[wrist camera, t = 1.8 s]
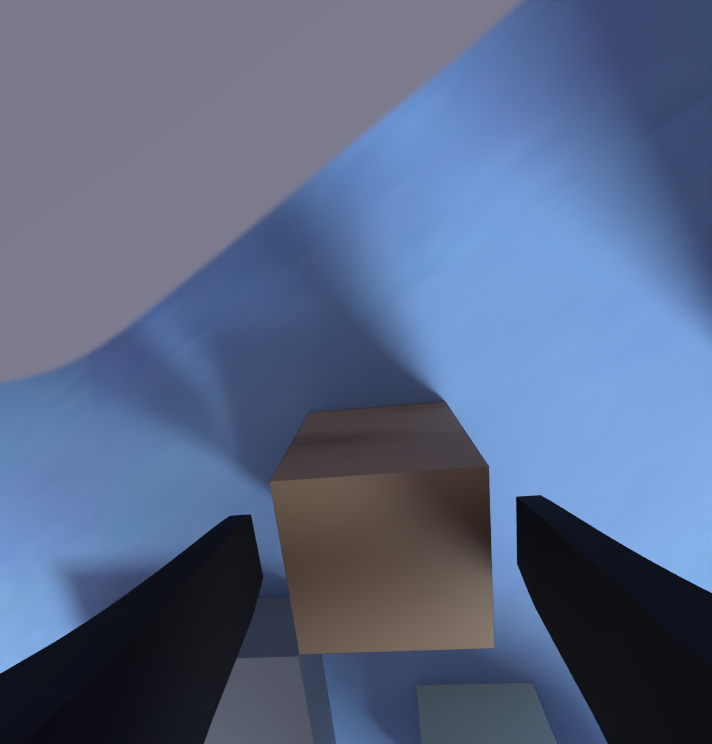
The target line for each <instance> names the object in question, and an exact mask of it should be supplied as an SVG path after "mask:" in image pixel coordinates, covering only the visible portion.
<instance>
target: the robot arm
mask: <svg viewBox="0 0 712 744" xmlns="http://www.w3.org/2000/svg"><path fill="white" fill-rule="evenodd" d="M516 516H517V565H518V567H519V570H520V572H521V575H522V577H523V580H524V582H525V585H526V587H527V590H528V592H529V594H530V597H531V599H532V601H533V604H534V606H535V608H536V610H537V612H538V614H539V615H540V617H541V619H542V621H543V623H544V625H545V627H546V629H547V630H548V632H549V634H550V636H551V638H552V640H553V642H554V643H555V645H556V647H557V649H558V651H559V653H560V654H561V656H562V658H563V660H564V662H565V664H566V665H567V667H568V669H569V671H570V673H571V675H572V676H573V678H574V680H575V682H576V684H577V686H578V687H579V689H580V691H581V693H582V695H583V697H584V698H585V700H586V702H587V704H588V706H589V708H590V710H591V711H592V713H593V715H594V717H595V719H596V721H597V723H598V725H599V727H600V729H601V731H602V733H603V735H604V737H605V739H606V741H607V743H608V744H712V593H711V592H709V591H706V590H704V589H702V588H701V587H699V586H697V585H695V584H693V583H691V582H689V581H687V580H685V579H683V578H681V577H679V576H677V575H676V574H674V573H672V572H670V571H668V570H666V569H665V568H663V567H661V566H659V565H657V564H655V563H654V562H652V561H650V560H648V559H646V558H645V557H643V556H641V555H639V554H638V553H636V552H634V551H632V550H631V549H629V548H627V547H625V546H624V545H622V544H620V543H619V542H617V541H615V540H614V539H612V538H610V537H609V536H607V535H605V534H604V533H602V532H600V531H599V530H597V529H595V528H594V527H592V526H590V525H589V524H587V523H586V522H584V521H582V520H581V519H579V518H578V517H576V516H574V515H573V514H571V513H569V512H568V511H566V510H565V509H563V508H561V507H560V506H558V505H556V504H555V503H553V502H551V501H550V500H548V499H546V498H544V497H543V496H541V495H537V496H521V497H516ZM262 580H263V573H262V568H261V563H260V558H259V553H258V548H257V543H256V538H255V533H254V528H253V523H252V518H251V514H250V515H235V516H229V517H228V518H226V519H225V520H223V521H222V522H220V523H219V524H218V525H216V526H215V527H214V528H212V529H211V530H210V531H209V532H207V533H206V534H205V535H203V536H202V537H201V538H200V539H198V540H197V541H196V542H195V543H193V544H192V545H191V546H190V547H188V548H187V549H186V550H185V551H183V552H182V553H181V554H179V555H178V556H177V557H176V558H174V559H173V560H172V561H170V562H169V563H168V564H167V565H165V566H164V567H163V568H162V569H160V570H159V571H157V572H156V573H155V574H153V575H152V576H151V577H149V578H148V579H147V580H145V581H144V582H143V583H141V584H140V585H138V586H137V587H136V588H134V589H133V590H132V591H130V592H129V593H128V594H126V595H125V596H124V597H122V598H121V599H119V600H118V601H117V602H115V603H114V604H112V605H111V606H109V607H108V608H106V609H105V610H103V611H102V612H100V613H99V614H98V615H96V616H95V617H93V618H92V619H90V620H88V621H87V622H85V623H84V624H82V625H81V626H79V627H78V628H76V629H74V630H73V631H71V632H70V633H68V634H67V635H65V636H64V637H62V638H60V639H59V640H57V641H55V642H54V643H52V644H51V645H49V646H47V647H45V648H44V649H42V650H40V651H38V652H37V653H35V654H33V655H32V656H30V657H28V658H26V659H25V660H23V661H21V662H20V663H18V664H16V665H14V666H13V667H11V668H9V669H7V670H6V671H4V672H2V673H1V674H0V744H204V742H205V740H206V737H207V734H208V731H209V728H210V726H211V723H212V720H213V717H214V715H215V712H216V710H217V707H218V705H219V702H220V700H221V697H222V695H223V692H224V689H225V687H226V684H227V682H228V679H229V677H230V674H231V672H232V669H233V667H234V664H235V662H236V659H237V656H238V654H239V651H240V649H241V646H242V644H243V641H244V638H245V636H246V633H247V631H248V628H249V625H250V623H251V620H252V617H253V614H254V610H255V607H256V603H257V599H258V596H259V592H260V588H261V584H262Z"/></svg>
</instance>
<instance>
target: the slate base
mask: <svg viewBox="0 0 712 744" xmlns="http://www.w3.org/2000/svg"><path fill="white" fill-rule="evenodd" d="M111 605H112V604H111ZM111 605H110V606H111ZM204 744H336V741H335V735H334V728H333V722H332V716H331V710H330V704H329V698H328V692H327V686H326V679H325V673H324V667H323V661H322V655H321V654H300V653H299V648H298V642H297V636H296V630H295V625H294V619H293V613H292V607H291V602H290V596H268V597H258V599H257V603H256V607H255V610H254V614H253V617H252V620H251V623H250V625H249V628H248V631H247V633H246V636H245V638H244V641H243V644H242V646H241V649H240V651H239V654H238V656H237V659H236V662H235V664H234V667H233V669H232V672H231V674H230V677H229V679H228V682H227V684H226V687H225V689H224V692H223V695H222V697H221V700H220V702H219V705H218V707H217V710H216V712H215V715H214V717H213V720H212V723H211V726H210V728H209V731H208V734H207V737H206V740H205V742H204Z"/></svg>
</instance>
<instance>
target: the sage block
mask: <svg viewBox="0 0 712 744" xmlns="http://www.w3.org/2000/svg"><path fill="white" fill-rule="evenodd" d="M416 693H417V703H418V714H419V725H420V735H421V744H557V742H556V740H555V737H554V735H553V732H552V730H551V727H550V725H549V722H548V720H547V717H546V715H545V712H544V710H543V708H542V705H541V703H540V700H539V698H538V695H537V693H536V690H535V688H534V685H533V683H532V682H526V683H484V684H442V685H416Z"/></svg>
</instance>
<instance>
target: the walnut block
mask: <svg viewBox="0 0 712 744" xmlns="http://www.w3.org/2000/svg"><path fill="white" fill-rule="evenodd" d="M270 486H271V492H272V498H273V504H274V509H275V515H276V521H277V527H278V532H279V538H280V544H281V550H282V555H283V561H284V567H285V573H286V579H287V584H288V590H289V596H290V602H291V607H292V613H293V619H294V625H295V630H296V636H297V642H298V648H299V653H300V654H327V653H359V652H390V651H421V650H452V649H483V648H494V623H493V590H492V557H491V524H490V491H489V466H488V464H487V463H486V461H485V460H484V458H483V457H482V455H481V454H480V452H479V451H478V449H477V448H476V446H475V445H474V443H473V442H472V440H471V439H470V437H469V436H468V434H467V433H466V431H465V430H464V428H463V427H462V426H461V424H460V423H459V421H458V420H457V418H456V417H455V415H454V414H453V412H452V411H451V409H450V408H449V406H448V405H447V403H446V402H445V401H442V402H430V403H418V404H406V405H394V406H383V407H371V408H359V409H347V410H335V411H324V412H312V413H309V414H308V415H307V417H306V419H305V421H304V422H303V424H302V426H301V428H300V429H299V431H298V433H297V435H296V436H295V438H294V440H293V442H292V443H291V445H290V447H289V449H288V450H287V452H286V454H285V456H284V457H283V459H282V461H281V463H280V464H279V466H278V468H277V470H276V471H275V473H274V475H273V477H272V478H271V480H270Z"/></svg>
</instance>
